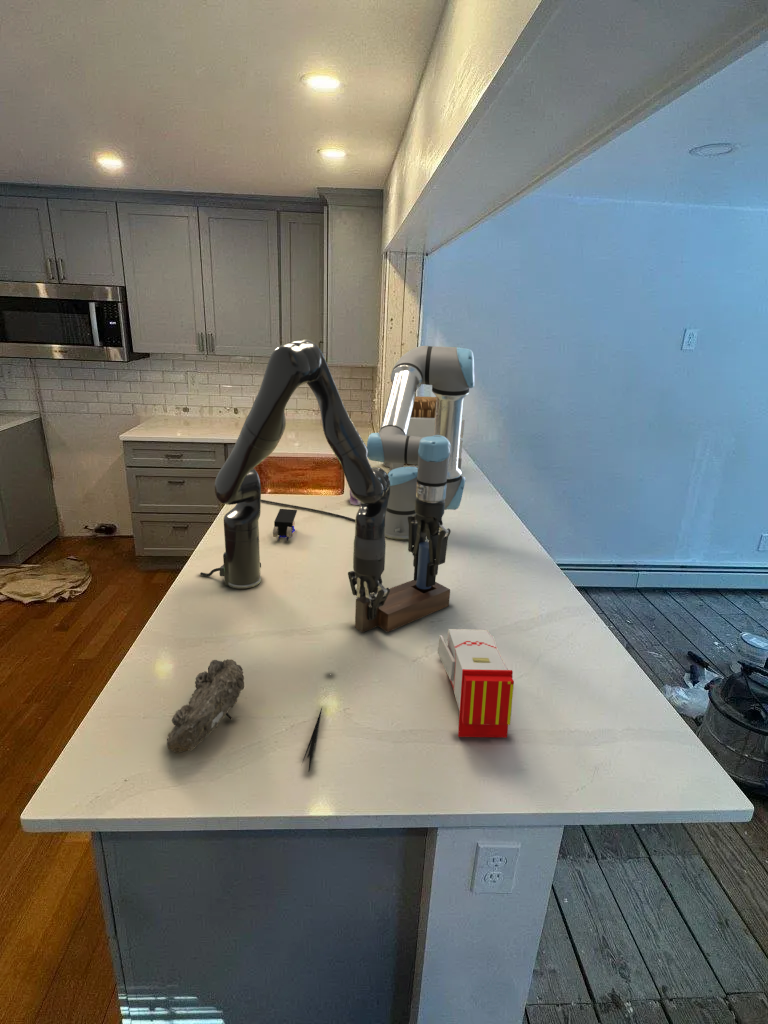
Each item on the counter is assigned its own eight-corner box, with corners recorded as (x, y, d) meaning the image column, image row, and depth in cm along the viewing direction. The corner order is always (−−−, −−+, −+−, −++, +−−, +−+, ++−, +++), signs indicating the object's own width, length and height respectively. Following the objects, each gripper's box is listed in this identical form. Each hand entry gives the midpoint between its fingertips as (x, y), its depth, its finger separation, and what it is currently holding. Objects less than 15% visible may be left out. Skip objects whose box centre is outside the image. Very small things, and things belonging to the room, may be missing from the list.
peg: (413, 585, 151) (416, 543, 147) (423, 581, 154) (426, 540, 150) (423, 590, 149) (426, 548, 144) (434, 586, 151) (437, 545, 147)
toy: (488, 613, 130) (523, 677, 101) (484, 667, 133) (517, 744, 104) (435, 612, 130) (455, 676, 101) (432, 666, 133) (451, 743, 103)
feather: (331, 679, 122) (336, 673, 122) (307, 777, 96) (313, 769, 95) (324, 675, 122) (329, 669, 121) (298, 772, 95) (304, 764, 95)
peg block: (346, 621, 143) (347, 593, 140) (422, 591, 160) (424, 566, 157) (371, 639, 136) (372, 609, 133) (448, 605, 153) (451, 579, 150)
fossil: (192, 660, 117) (244, 628, 112) (224, 691, 120) (276, 661, 115) (142, 746, 98) (202, 712, 93) (182, 779, 101) (242, 748, 96)
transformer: (382, 463, 289) (386, 382, 275) (445, 464, 293) (451, 384, 279) (390, 482, 257) (394, 392, 243) (460, 483, 261) (468, 394, 247)
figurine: (353, 507, 224) (354, 470, 219) (343, 499, 232) (343, 463, 227) (374, 504, 228) (376, 468, 223) (364, 496, 237) (365, 462, 231)
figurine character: (292, 547, 188) (298, 526, 201) (292, 527, 184) (297, 507, 198) (272, 547, 187) (279, 526, 201) (271, 526, 184) (278, 506, 197)
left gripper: (338, 546, 137) (337, 609, 142) (376, 566, 127) (373, 633, 133) (363, 539, 141) (361, 600, 147) (401, 558, 131) (397, 623, 137)
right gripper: (396, 492, 147) (392, 574, 154) (444, 511, 135) (437, 598, 143) (417, 487, 151) (412, 567, 159) (465, 505, 139) (457, 590, 147)
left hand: (367, 615), depth 140 cm, fingers closed on peg block, 3 cm apart
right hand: (424, 581), depth 151 cm, fingers closed on peg, 4 cm apart
